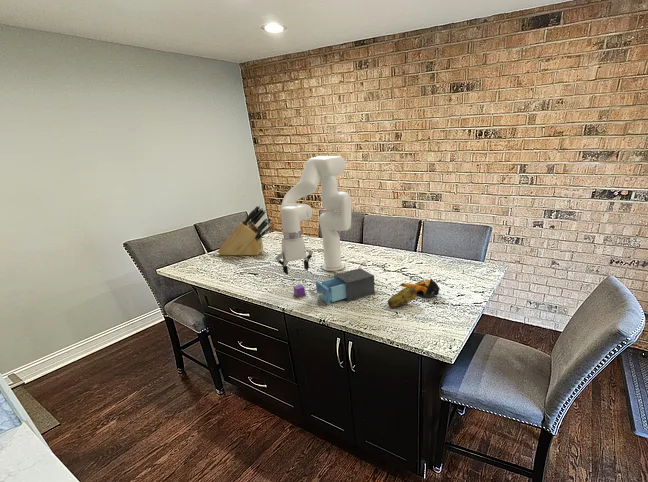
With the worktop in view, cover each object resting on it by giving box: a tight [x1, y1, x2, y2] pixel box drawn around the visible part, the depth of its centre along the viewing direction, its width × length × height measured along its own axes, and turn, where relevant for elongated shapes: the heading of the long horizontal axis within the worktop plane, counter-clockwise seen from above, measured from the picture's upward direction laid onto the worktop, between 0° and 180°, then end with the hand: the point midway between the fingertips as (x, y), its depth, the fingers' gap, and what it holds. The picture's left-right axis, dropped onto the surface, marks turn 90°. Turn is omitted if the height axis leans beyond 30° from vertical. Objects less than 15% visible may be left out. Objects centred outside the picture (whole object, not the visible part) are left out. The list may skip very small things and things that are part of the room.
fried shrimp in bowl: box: [399, 278, 441, 298], centre depth 156 cm, size 9×11×18 cm
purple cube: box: [292, 284, 306, 298], centre depth 159 cm, size 4×4×4 cm
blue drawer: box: [308, 277, 347, 305], centre depth 153 cm, size 18×11×7 cm, turn 125°
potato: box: [387, 287, 417, 308], centre depth 146 cm, size 8×13×8 cm, turn 93°
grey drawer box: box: [333, 267, 376, 302], centre depth 159 cm, size 15×13×9 cm
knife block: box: [217, 204, 273, 256], centre depth 216 cm, size 11×35×31 cm, turn 89°
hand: (296, 271), depth 155 cm, fingers open, 9 cm apart
